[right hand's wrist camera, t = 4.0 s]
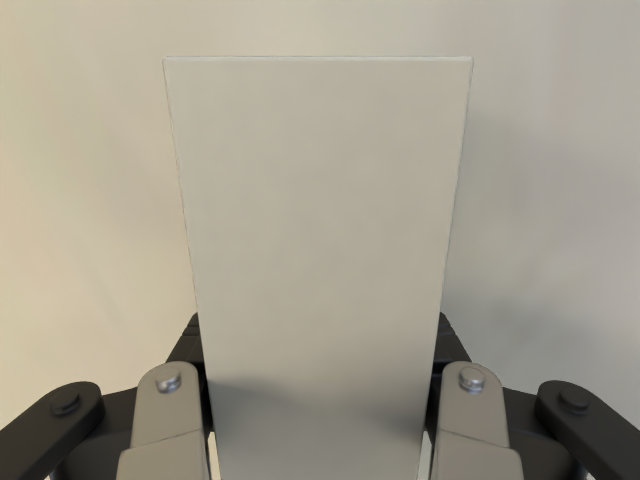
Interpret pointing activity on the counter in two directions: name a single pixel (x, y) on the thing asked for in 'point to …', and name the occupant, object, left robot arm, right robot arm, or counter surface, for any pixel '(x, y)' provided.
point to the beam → (318, 251)
